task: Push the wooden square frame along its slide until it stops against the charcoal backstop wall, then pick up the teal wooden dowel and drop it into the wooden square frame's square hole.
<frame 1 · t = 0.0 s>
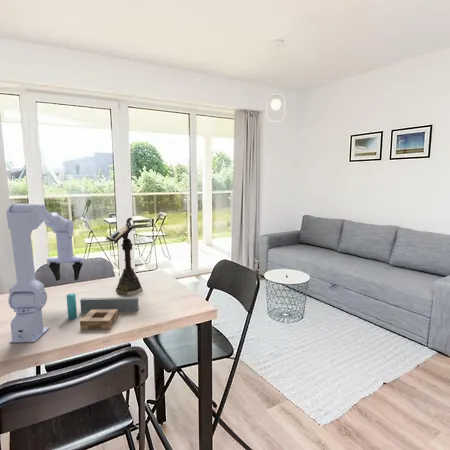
hand: (67, 279, 134), 10 cm above the table, tool pointing down, fingers open, 7 cm apart
dowel: (72, 317, 120), on the table
backstop wall: (110, 310, 127), on the table
dark bronze tall stand: (124, 292, 148), on the table
wooden square frame: (99, 318, 116), point 2 cm above the table, slide at 5.0 cm
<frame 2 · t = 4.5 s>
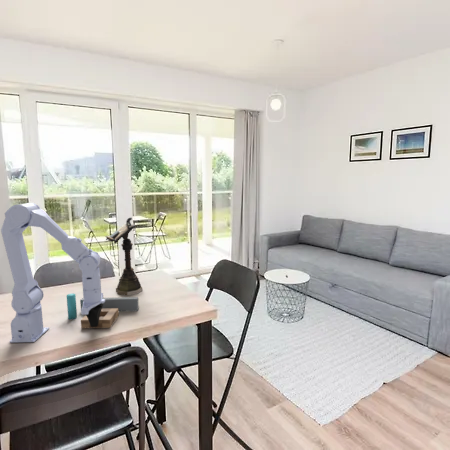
hand: (94, 325, 110), 1 cm above the table, tool pointing down, fingers closed
wooden square frame: (100, 317, 116), point 2 cm above the table, slide at 4.2 cm, touching gripper
everything else where it was.
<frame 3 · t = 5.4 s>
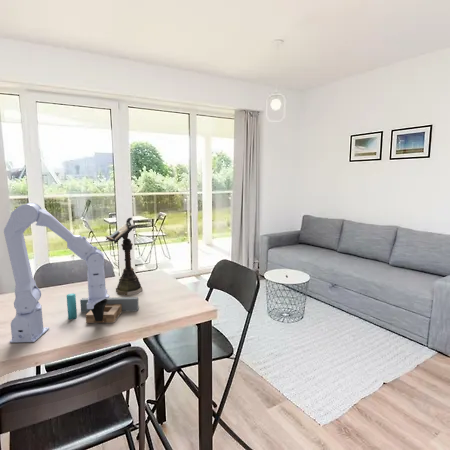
hand: (98, 320, 115), 1 cm above the table, tool pointing down, fingers closed
wooden square frame: (104, 313, 121), point 2 cm above the table, slide at -0.1 cm, touching gripper
everything else where it was.
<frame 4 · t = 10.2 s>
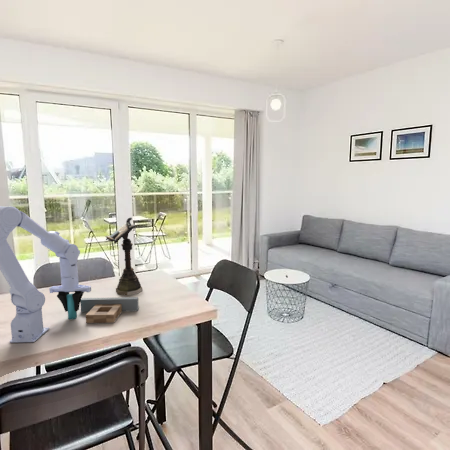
hand: (72, 310, 120), 3 cm above the table, tool pointing down, fingers closed on dowel, 3 cm apart
dowel: (72, 317, 120), on the table, touching gripper
wooden square frame: (104, 313, 121), point 2 cm above the table, slide at 0.0 cm
everything else where it was.
when the fingers open (4 cm above the table, at t = 13.7 s): dowel drops 2 cm, resting in wooden square frame.
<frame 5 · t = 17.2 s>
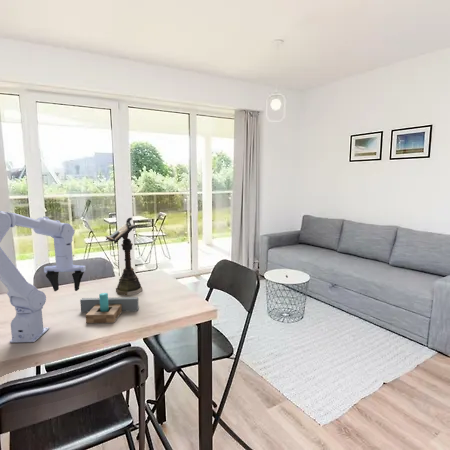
hand: (66, 290, 120), 10 cm above the table, tool pointing down, fingers open, 7 cm apart
dowel: (104, 317, 121), resting in wooden square frame
everything else where it was.
at the end: wooden square frame slide at 0.0 cm; dowel 0.1 cm from the target spot, resting in wooden square frame; dowel tilted 0° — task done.
